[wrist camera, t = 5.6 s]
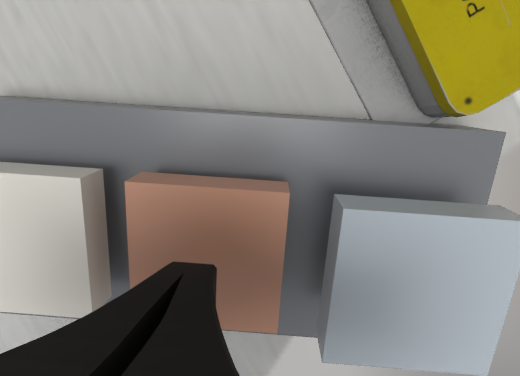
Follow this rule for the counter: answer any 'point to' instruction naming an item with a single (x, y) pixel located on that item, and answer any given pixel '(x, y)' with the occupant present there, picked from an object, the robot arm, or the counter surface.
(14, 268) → the ivory key
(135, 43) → the counter surface
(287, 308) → the key console
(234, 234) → the terracotta key
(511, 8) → the emergency button
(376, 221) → the slate key
